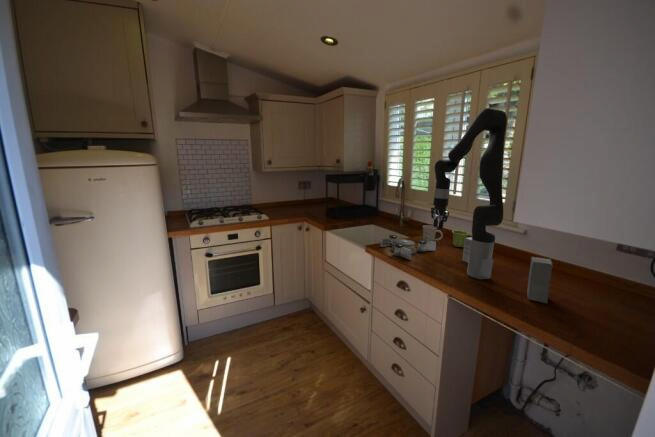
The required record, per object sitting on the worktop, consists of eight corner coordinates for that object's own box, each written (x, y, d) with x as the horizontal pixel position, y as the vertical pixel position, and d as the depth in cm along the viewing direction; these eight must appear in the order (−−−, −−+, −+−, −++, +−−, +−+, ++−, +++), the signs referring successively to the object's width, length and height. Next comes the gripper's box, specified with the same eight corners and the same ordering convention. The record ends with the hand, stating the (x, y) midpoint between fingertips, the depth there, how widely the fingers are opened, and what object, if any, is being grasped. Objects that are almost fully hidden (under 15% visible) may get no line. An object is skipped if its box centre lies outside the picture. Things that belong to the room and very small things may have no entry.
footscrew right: (419, 252, 167) (421, 242, 165) (415, 249, 171) (416, 240, 170) (436, 251, 169) (438, 241, 168) (432, 248, 174) (433, 239, 172)
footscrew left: (391, 254, 162) (392, 244, 161) (398, 252, 165) (398, 242, 163) (406, 260, 153) (407, 249, 152) (413, 259, 156) (414, 248, 155)
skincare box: (547, 304, 112) (555, 265, 109) (525, 299, 116) (532, 261, 113) (545, 295, 120) (553, 259, 116) (524, 291, 123) (531, 255, 120)
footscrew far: (392, 243, 182) (393, 234, 180) (398, 245, 177) (399, 236, 176) (378, 245, 176) (379, 236, 175) (383, 248, 172) (384, 238, 171)
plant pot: (453, 242, 189) (455, 229, 187) (469, 246, 183) (471, 232, 181) (447, 245, 182) (449, 232, 180) (463, 249, 176) (465, 235, 174)
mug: (420, 239, 193) (421, 224, 191) (440, 241, 191) (442, 226, 189) (422, 243, 185) (424, 228, 183) (443, 245, 183) (445, 229, 181)
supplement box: (471, 258, 160) (474, 236, 157) (483, 263, 153) (487, 240, 151) (461, 260, 157) (464, 237, 154) (473, 265, 151) (476, 241, 148)
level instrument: (421, 254, 165) (422, 244, 164) (398, 255, 162) (399, 245, 160) (409, 246, 178) (409, 237, 177) (387, 247, 175) (388, 238, 174)
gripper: (455, 199, 153) (451, 231, 157) (439, 195, 167) (436, 224, 170) (443, 199, 151) (439, 231, 155) (427, 195, 165) (424, 224, 169)
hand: (437, 227), depth 163 cm, fingers open, 4 cm apart
